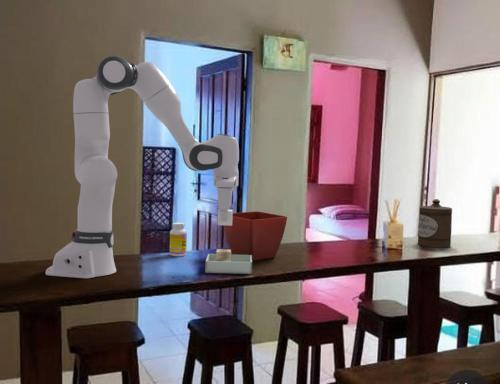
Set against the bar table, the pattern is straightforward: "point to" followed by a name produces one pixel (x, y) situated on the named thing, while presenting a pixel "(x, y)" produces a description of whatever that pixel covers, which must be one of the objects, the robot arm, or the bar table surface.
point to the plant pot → (255, 234)
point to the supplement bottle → (178, 240)
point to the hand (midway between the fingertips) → (224, 219)
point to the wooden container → (435, 225)
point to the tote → (229, 264)
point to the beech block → (223, 255)
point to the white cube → (229, 218)
